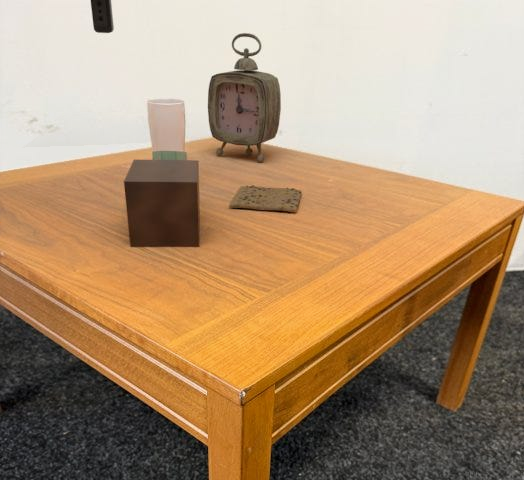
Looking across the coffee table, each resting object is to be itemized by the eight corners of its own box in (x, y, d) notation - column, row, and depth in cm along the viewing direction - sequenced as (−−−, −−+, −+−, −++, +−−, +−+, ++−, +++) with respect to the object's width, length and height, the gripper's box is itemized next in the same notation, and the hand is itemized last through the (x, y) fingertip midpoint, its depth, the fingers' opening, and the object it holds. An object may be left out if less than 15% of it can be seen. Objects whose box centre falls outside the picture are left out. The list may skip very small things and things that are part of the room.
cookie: (239, 188, 106) (239, 183, 105) (302, 193, 105) (302, 188, 104) (227, 207, 96) (227, 202, 95) (296, 213, 95) (297, 207, 94)
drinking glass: (153, 189, 104) (147, 103, 96) (152, 179, 109) (146, 97, 101) (189, 188, 105) (186, 103, 97) (186, 179, 111) (182, 98, 103)
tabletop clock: (208, 156, 127) (206, 31, 114) (227, 149, 134) (227, 30, 120) (264, 165, 122) (269, 35, 108) (281, 157, 129) (287, 34, 115)
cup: (186, 151, 88) (187, 154, 93) (151, 150, 87) (154, 153, 92) (187, 209, 90) (188, 208, 95) (153, 209, 89) (156, 208, 95)
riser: (130, 246, 80) (123, 181, 75) (138, 218, 90) (133, 159, 85) (199, 246, 81) (197, 181, 76) (200, 219, 91) (198, 160, 86)
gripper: (62, -144, 64) (83, 28, 73) (31, -173, 53) (61, 34, 62) (127, -140, 64) (140, 30, 74) (111, -168, 53) (128, 36, 63)
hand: (104, 32), depth 68 cm, fingers closed
